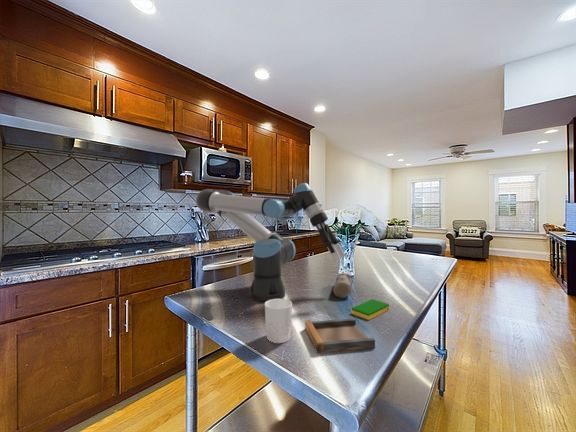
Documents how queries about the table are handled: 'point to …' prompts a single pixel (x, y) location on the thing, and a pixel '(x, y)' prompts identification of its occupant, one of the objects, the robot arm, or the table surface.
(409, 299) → the table surface
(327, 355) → the table surface
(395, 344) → the table surface
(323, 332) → the wooden tray
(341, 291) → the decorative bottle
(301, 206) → the robot arm
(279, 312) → the white cup
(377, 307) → the dish sponge
